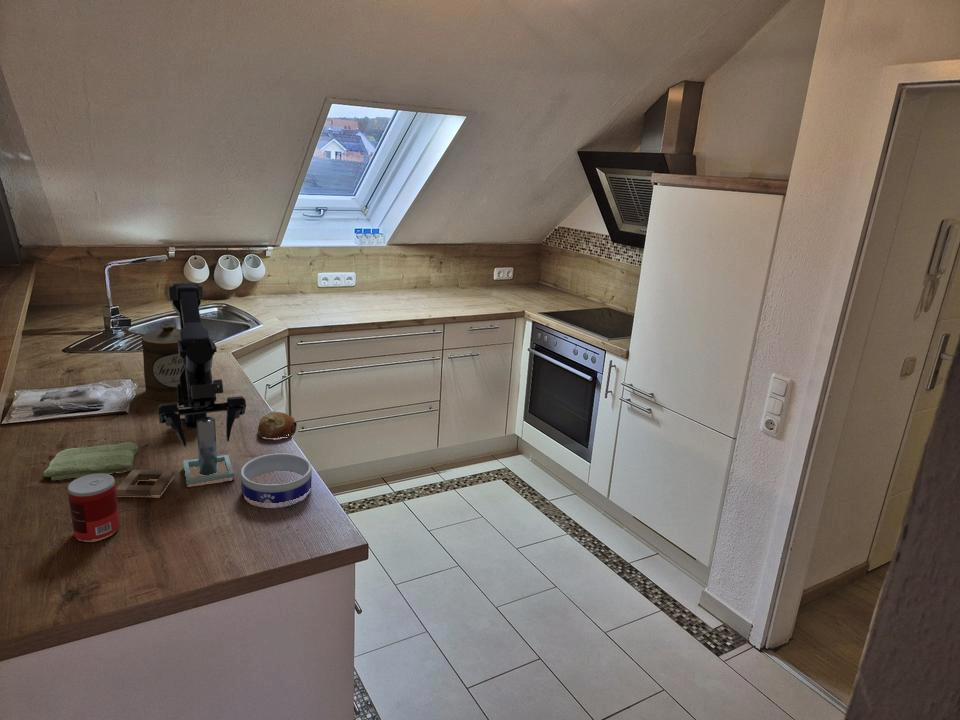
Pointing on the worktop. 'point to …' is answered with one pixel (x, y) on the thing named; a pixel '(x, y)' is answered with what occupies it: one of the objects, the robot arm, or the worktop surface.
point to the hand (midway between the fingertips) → (206, 443)
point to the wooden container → (162, 363)
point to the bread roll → (276, 425)
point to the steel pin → (206, 445)
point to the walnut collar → (144, 490)
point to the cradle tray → (207, 477)
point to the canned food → (93, 506)
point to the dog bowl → (276, 491)
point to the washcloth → (92, 461)
